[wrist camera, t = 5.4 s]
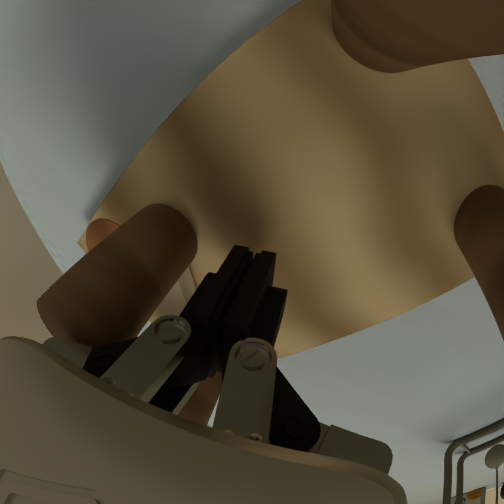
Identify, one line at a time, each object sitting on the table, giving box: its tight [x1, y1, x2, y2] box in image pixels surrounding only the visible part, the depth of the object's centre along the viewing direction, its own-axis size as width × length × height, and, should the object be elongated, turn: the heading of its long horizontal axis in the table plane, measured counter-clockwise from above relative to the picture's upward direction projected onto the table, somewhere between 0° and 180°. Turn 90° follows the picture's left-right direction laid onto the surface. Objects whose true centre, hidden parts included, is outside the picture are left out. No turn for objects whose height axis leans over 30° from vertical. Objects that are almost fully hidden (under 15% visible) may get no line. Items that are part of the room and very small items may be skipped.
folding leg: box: [37, 203, 222, 426], centre depth 13 cm, size 13×4×7 cm, turn 8°
